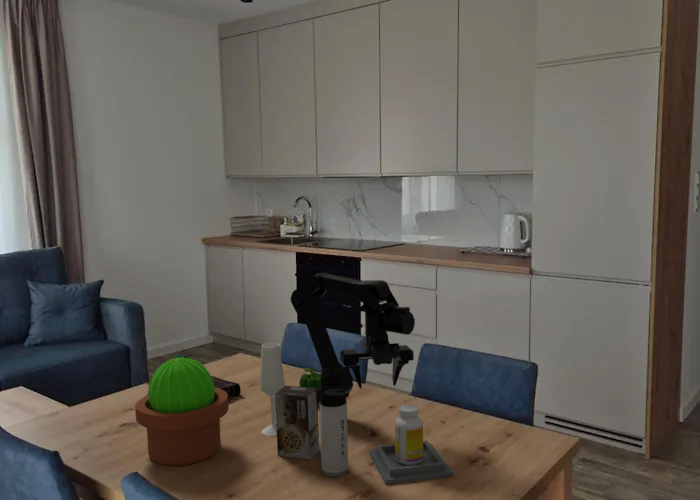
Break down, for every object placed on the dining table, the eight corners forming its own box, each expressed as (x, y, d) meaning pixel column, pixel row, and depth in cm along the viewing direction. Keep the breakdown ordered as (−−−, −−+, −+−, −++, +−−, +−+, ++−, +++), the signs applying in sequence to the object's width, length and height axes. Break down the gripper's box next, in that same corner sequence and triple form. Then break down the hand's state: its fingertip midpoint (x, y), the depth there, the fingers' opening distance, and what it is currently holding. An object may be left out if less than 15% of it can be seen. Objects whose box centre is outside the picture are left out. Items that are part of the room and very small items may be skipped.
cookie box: (320, 449, 157) (318, 387, 155) (310, 460, 151) (308, 396, 149) (287, 445, 160) (285, 384, 158) (276, 455, 154) (274, 392, 152)
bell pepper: (332, 398, 194) (331, 366, 192) (317, 406, 187) (316, 374, 186) (310, 393, 198) (309, 363, 197) (295, 401, 191) (294, 370, 190)
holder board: (385, 484, 138) (385, 473, 138) (369, 453, 154) (368, 444, 154) (453, 476, 141) (453, 465, 141) (430, 447, 157) (430, 437, 157)
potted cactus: (186, 478, 143) (180, 373, 140) (120, 459, 154) (113, 361, 151) (246, 442, 162) (242, 349, 159) (184, 427, 173) (179, 340, 170)
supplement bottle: (428, 458, 149) (428, 406, 147) (414, 469, 143) (414, 415, 142) (404, 451, 152) (403, 401, 151) (390, 461, 147) (389, 409, 146)
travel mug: (319, 465, 148) (317, 384, 146) (347, 464, 149) (345, 383, 146) (320, 478, 142) (318, 393, 140) (349, 476, 142) (347, 392, 140)
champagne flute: (290, 428, 171) (287, 343, 168) (278, 437, 165) (274, 349, 162) (270, 424, 174) (266, 340, 171) (256, 433, 168) (253, 347, 165)
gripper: (347, 339, 153) (348, 400, 155) (419, 334, 156) (420, 393, 158) (339, 328, 164) (340, 386, 165) (407, 324, 167) (407, 380, 169)
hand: (377, 386), depth 164 cm, fingers open, 9 cm apart
